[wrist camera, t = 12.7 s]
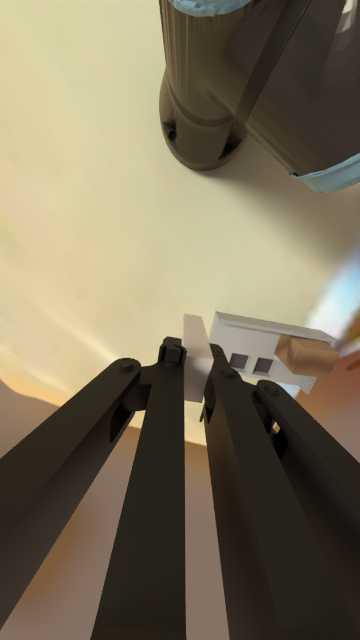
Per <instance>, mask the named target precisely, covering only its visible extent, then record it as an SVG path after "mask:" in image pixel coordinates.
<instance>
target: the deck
mask: <svg viewBox="0 0 360 640" xmlns="http://www.w3.org/2000/svg"><path fill="white" fill-rule="evenodd" d="M281 333H282V334H287V335H293V336H299V337H304V338H310V339H316V340H321V341H323V342H324V343H326V344H328V345H329V346H331V347H334V345H335V343H336V341H337V339H335V338H333V337H332V336H330V335H328V334H326V333H324V332H323V331H321V330H315V329H310V328H304V327H299V326H293V325H287V324H282V323H276V322H271V321H265V320H260V319H254V318H248V317H243V316H237V315H232V314H226V313H220V312H215V315H214V319H213V323H212V327H211V331H210V335H209V338H208V342H209V343H212V344H218V345H219V346H220V347H221V348H222V349H223V351H224V354H225V355H226V358H227V360H228V363H229V365H230V367H231V368H233V369H235V370H236V371H237V372H238V373H239V374H240V376H245V377H251V378H257V379H264V380H270V381H275V382H281V383H287V384H294V385H298V386H299V387H300V388H301V389H302V390H303V392H304V393H305V394H309V392H310V390H311V388H312V387H313V385H314V383H315V381H316V379H317V377H311V376H303V375H295V374H292V372H291V371H290V370H289V369H288V368H287V367H286V366H285V365H284V364H283V363H282V362H281V361H280V359H279V358H278V357H277V356H276V355H275V354H274V352H275V349H276V346H277V344H278V341H279V338H280V335H281Z"/></svg>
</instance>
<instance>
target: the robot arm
mask: <svg viewBox="0 0 360 640" xmlns="http://www.w3.org/2000/svg"><path fill="white" fill-rule="evenodd" d="M159 6H160V15H161V24H162V33H163V42H164V51H165V60H166V68H165V72H164V76H163V80H162V84H161V89H160V99H159V112H160V120H161V126H162V131H163V135H164V138H165V141H166V143H167V145H168V147H169V149H170V151H171V152H172V154H173V155H174V156H175V157H176V158H177V159H178V160H179V161H180V162H181V163H182V164H184V165H185V166H187V167H189V168H192V169H195V170H202V171H205V170H212V169H215V168H218V167H220V166H222V165H223V164H225V163H226V162H227V161H229V160H230V159H231V158H232V157H233V156H234V155H235V154H236V152H237V151H238V150H239V148H240V146H241V145H242V143H243V141H244V139H245V137H246V135H247V133H248V132H249V133H250V134H251V135H252V136H253V137H254V138H255V139H256V140H257V141H258V142H259V143H260V144H261V145H262V146H263V147H264V148H265V149H266V150H267V151H268V152H269V153H270V154H271V155H272V156H273V157H274V158H275V159H277V160H278V161H279V162H280V163H281V164H282V165H283V166H284V167H285V168H286V169H287V170H288V171H289V175H290V176H291V177H293V178H295V179H299V180H300V181H301V182H302V183H303V184H305V185H306V186H307V187H308V188H310V189H311V190H312V191H314V192H317V193H323V192H334V191H337V190H341V189H344V188H346V187H349V186H351V185H353V184H355V183H358V182H360V0H159ZM203 396H204V399H205V403H204V406H203V410H202V413H201V417H200V422H202V419H203V417H204V426H205V434H206V443H207V451H208V459H209V468H210V476H211V485H212V493H213V502H214V510H215V519H216V527H217V535H218V544H219V552H220V561H221V570H222V577H223V587H224V595H225V604H226V612H227V621H228V629H229V638H230V640H360V463H359V462H358V461H357V460H356V459H355V458H354V457H353V456H352V455H351V454H350V453H349V452H348V451H347V450H346V449H344V448H343V447H342V446H341V445H340V444H339V443H338V442H337V441H336V440H335V439H334V438H333V437H332V436H331V435H330V434H329V433H328V432H327V431H326V430H325V429H324V428H323V427H322V426H321V425H320V424H319V423H318V422H317V421H316V420H315V419H314V418H313V417H312V416H311V415H310V414H309V413H308V412H306V410H304V408H303V407H301V406H300V405H299V403H298V402H296V400H295V399H293V398H292V397H291V396H290V395H289V394H288V393H287V392H286V391H285V390H284V389H283V388H282V387H281V386H279V385H278V384H276V383H275V382H273V381H270V380H264V379H263V380H259V381H258V382H257V385H253V384H250V383H247V382H245V381H243V380H242V378H241V376H240V374H239V373H238V372H237V371H236V370H235V369H233V368H231V367H230V365H229V363H228V360H227V358H226V355H225V354H224V351H223V349H222V348H221V347H220V346H219V345H218V344H212V343H209V342H208V338H207V334H206V331H205V327H204V324H203V320H202V317H200V316H195V315H189V314H184V315H183V320H182V325H181V330H180V335H179V338H174V337H168V336H167V337H166V338H165V339H164V340H163V344H162V345H161V346H160V349H159V356H158V362H157V363H156V364H154V365H151V366H143V367H141V364H140V363H139V361H137V360H135V359H132V358H121V359H118V360H116V361H114V362H113V363H112V364H110V365H109V366H108V367H107V368H106V369H105V370H103V371H102V372H101V373H100V374H99V375H98V376H96V377H95V378H94V379H93V380H92V381H91V382H89V383H88V384H87V385H86V386H85V387H84V388H82V389H81V390H80V391H79V392H78V393H77V394H75V395H74V396H73V397H72V398H71V399H70V400H68V401H67V402H66V403H65V404H64V405H63V406H61V407H60V408H59V409H58V410H57V411H56V412H54V413H53V414H52V415H51V416H50V417H49V418H47V419H46V420H45V421H44V422H43V423H42V424H40V426H38V427H37V428H36V429H34V430H33V431H32V432H31V433H30V434H29V435H27V436H26V437H25V438H24V439H23V440H22V441H20V442H19V443H18V444H17V445H16V446H15V447H13V448H12V449H11V450H10V451H9V452H8V453H6V455H4V456H3V457H2V458H1V459H0V630H1V628H2V627H3V625H4V623H5V622H6V620H7V619H8V617H9V615H10V614H11V612H12V611H13V609H14V607H15V606H16V604H17V603H18V601H19V599H20V598H21V596H22V594H23V593H24V591H25V590H26V588H27V586H28V585H29V583H30V582H31V580H32V579H33V577H34V575H35V574H36V572H37V570H38V569H39V567H40V565H41V564H42V562H43V561H44V559H45V558H46V556H47V554H48V553H49V551H50V550H51V548H52V546H53V545H54V543H55V542H56V540H57V538H58V537H59V535H60V534H61V532H62V530H63V528H64V527H65V526H66V524H67V522H68V521H69V519H70V518H71V516H72V514H73V513H74V511H75V509H76V508H77V506H78V504H79V503H80V501H81V500H82V498H83V497H84V495H85V493H86V492H87V490H88V489H89V487H90V485H91V484H92V482H93V481H94V479H95V477H96V475H97V474H98V473H99V471H100V469H101V468H102V466H103V465H104V463H105V461H106V460H107V458H108V456H109V455H110V453H111V452H112V450H113V448H114V447H115V445H116V443H117V442H118V440H119V439H120V437H121V436H122V434H123V432H124V431H125V429H126V428H127V426H128V424H129V423H130V421H131V420H132V418H133V416H134V415H135V412H136V411H142V410H146V412H145V416H144V420H143V424H142V428H141V433H140V437H139V441H138V446H137V449H136V454H135V458H134V462H133V466H132V471H131V474H130V478H129V483H128V487H127V491H126V495H125V499H124V503H123V508H122V512H121V516H120V520H119V524H118V528H117V533H116V537H115V541H114V546H113V550H112V554H111V558H110V562H109V567H108V570H107V574H106V579H105V583H104V587H103V591H102V595H101V599H100V604H99V608H98V612H97V616H96V620H95V624H94V628H93V631H92V635H91V639H90V640H187V639H186V616H185V615H186V614H185V613H186V611H185V610H186V608H185V607H186V605H185V460H184V459H185V448H184V400H186V401H193V402H199V403H202V400H203ZM275 422H276V423H277V424H278V425H279V427H280V430H279V432H278V433H277V432H276V431H275V430H274V429H273V426H274V424H275Z"/></svg>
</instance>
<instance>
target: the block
mask: <svg viewBox="0 0 360 640" xmlns="http://www.w3.org/2000/svg"><path fill="white" fill-rule="evenodd" d="M274 354H275V355H276V356H277V357H278V358H279V359H280V361H281V362H282V363H283V364H284V365H285V366H286V367H287V368H288V369H289V370H290V371H291V372H292V374H295V375H303V376H311V377H319V378H328V376H329V374H330V371H331V370H332V368H333V366H334V364H335V362H336V360H337V358H338V356H339V354H340V352H339V351H337V350H336V349H334V348H333V347H331V346H329V345H328V344H326V343H324V342H323V341H321V340H316V339H310V338H304V337H299V336H293V335H287V334H282V333H281V335H280V338H279V341H278V344H277V346H276V349H275V352H274Z"/></svg>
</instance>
